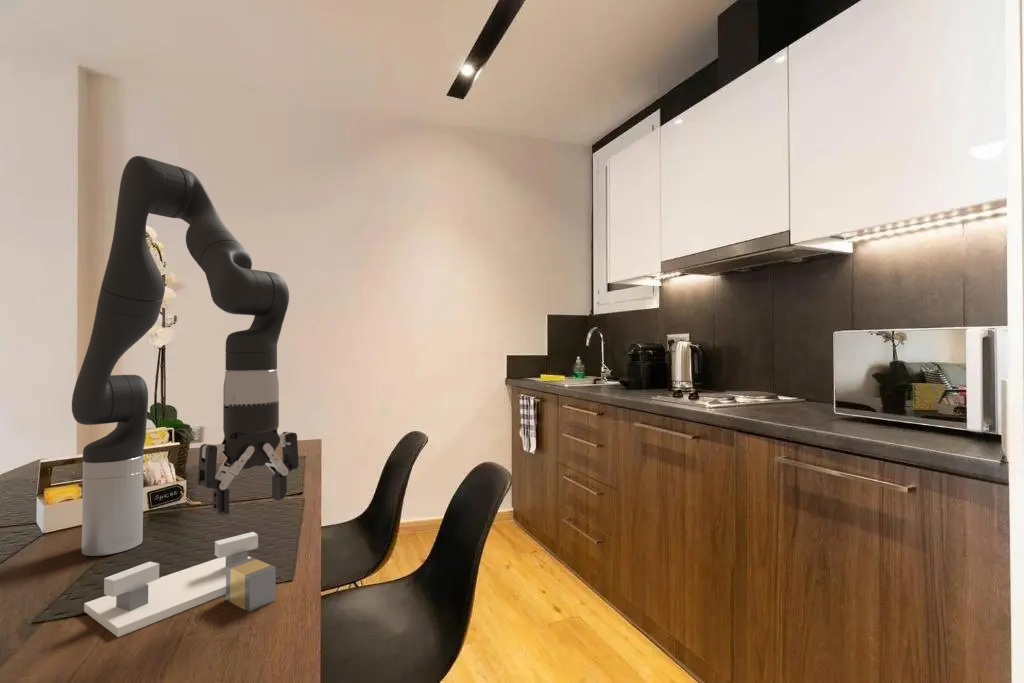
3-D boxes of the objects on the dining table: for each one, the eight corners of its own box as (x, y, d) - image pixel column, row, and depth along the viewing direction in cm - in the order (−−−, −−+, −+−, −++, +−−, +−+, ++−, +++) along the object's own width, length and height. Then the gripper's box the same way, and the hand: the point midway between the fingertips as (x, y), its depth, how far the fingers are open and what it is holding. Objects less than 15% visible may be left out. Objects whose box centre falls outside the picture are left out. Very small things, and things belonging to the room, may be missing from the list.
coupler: (249, 612, 72) (249, 577, 72) (225, 599, 76) (226, 566, 76) (275, 600, 76) (275, 567, 76) (251, 589, 79) (252, 557, 79)
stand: (84, 611, 72) (84, 569, 73) (237, 558, 91) (237, 524, 91) (117, 637, 66) (118, 590, 66) (275, 574, 84) (275, 538, 84)
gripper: (280, 395, 84) (280, 491, 84) (189, 402, 72) (188, 515, 72) (308, 397, 80) (308, 498, 80) (215, 405, 68) (215, 525, 68)
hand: (251, 506), depth 76 cm, fingers open, 8 cm apart
